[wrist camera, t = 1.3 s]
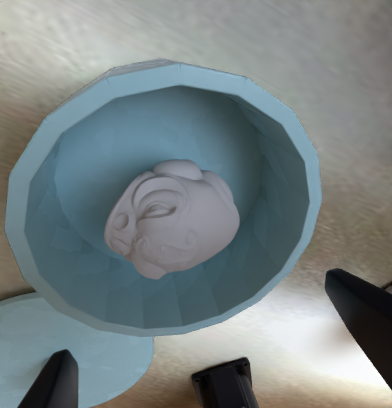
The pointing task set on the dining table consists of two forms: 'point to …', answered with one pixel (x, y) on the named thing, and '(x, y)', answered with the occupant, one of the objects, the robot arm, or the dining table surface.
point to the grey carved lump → (172, 218)
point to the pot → (145, 161)
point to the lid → (59, 340)
